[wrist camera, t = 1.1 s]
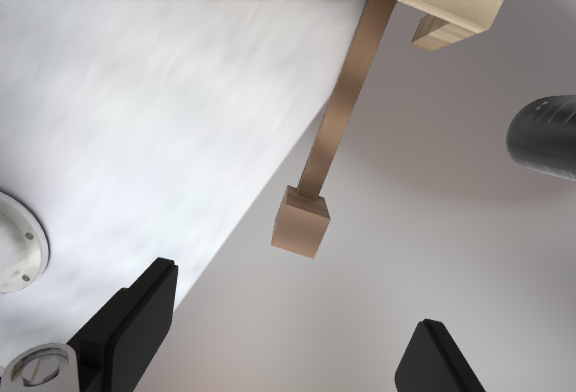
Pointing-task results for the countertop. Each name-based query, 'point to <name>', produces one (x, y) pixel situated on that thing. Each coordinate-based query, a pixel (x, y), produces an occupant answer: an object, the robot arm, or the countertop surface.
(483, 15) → the low bench
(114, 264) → the countertop surface
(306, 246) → the crook
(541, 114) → the supplement bottle
